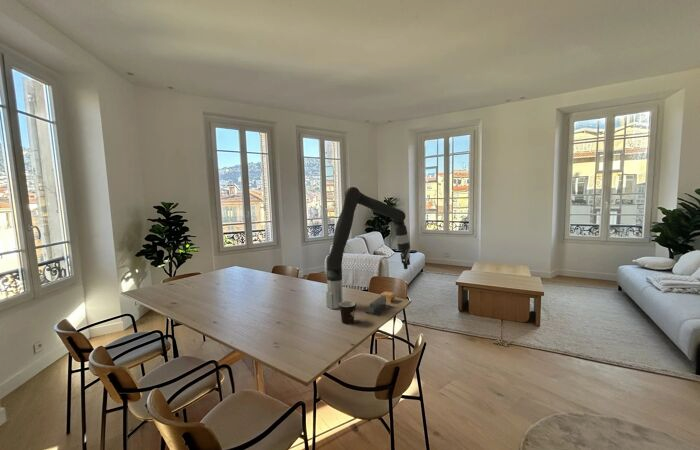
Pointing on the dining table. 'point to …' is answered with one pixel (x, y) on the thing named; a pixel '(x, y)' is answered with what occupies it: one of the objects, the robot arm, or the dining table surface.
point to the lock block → (388, 296)
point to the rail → (378, 306)
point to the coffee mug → (347, 312)
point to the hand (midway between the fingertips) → (407, 266)
